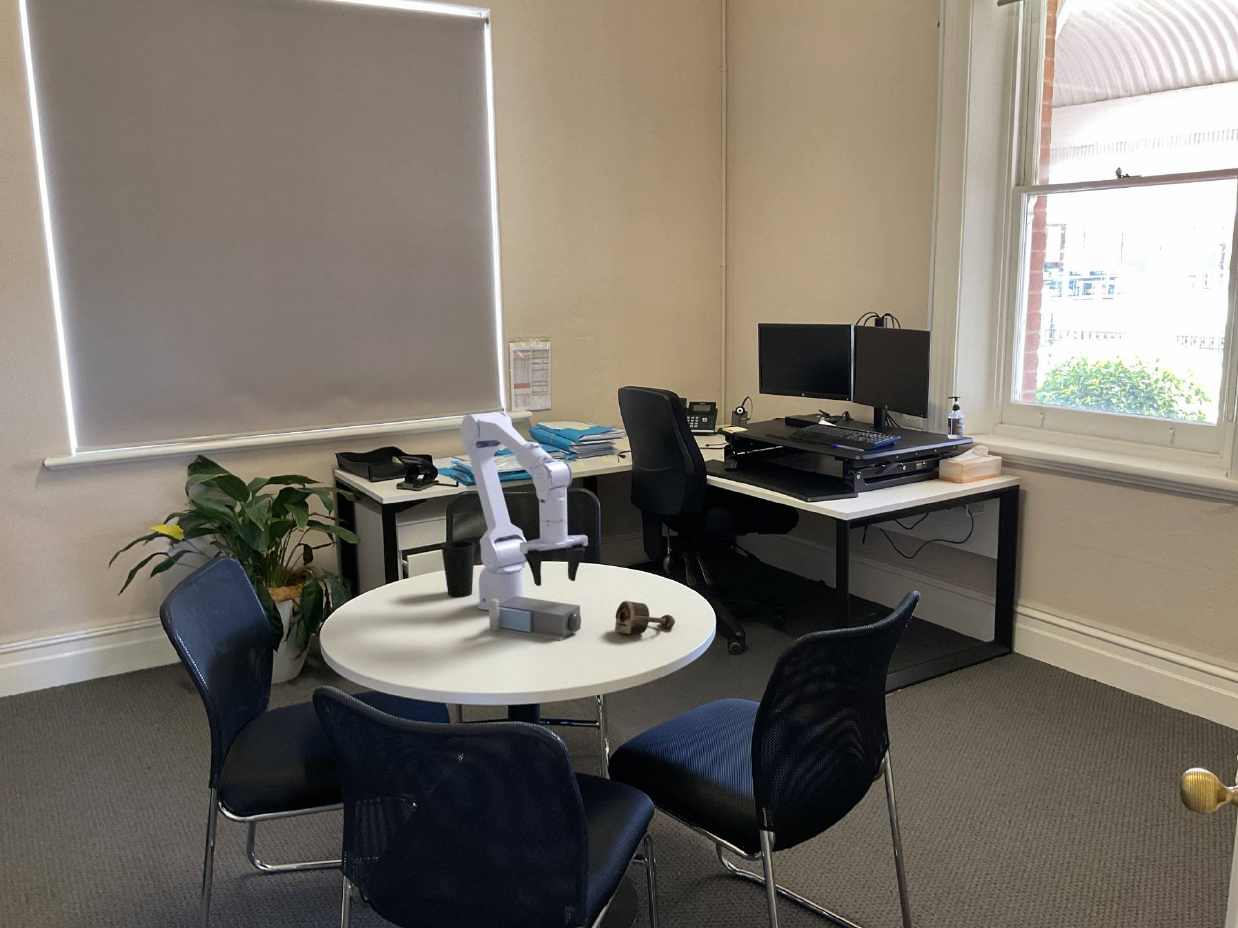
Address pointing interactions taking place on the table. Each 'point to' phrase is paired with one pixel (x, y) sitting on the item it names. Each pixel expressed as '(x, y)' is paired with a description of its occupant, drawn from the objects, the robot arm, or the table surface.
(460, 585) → the cup
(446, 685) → the table surface
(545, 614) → the housing
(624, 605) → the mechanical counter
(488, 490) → the robot arm
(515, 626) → the door
